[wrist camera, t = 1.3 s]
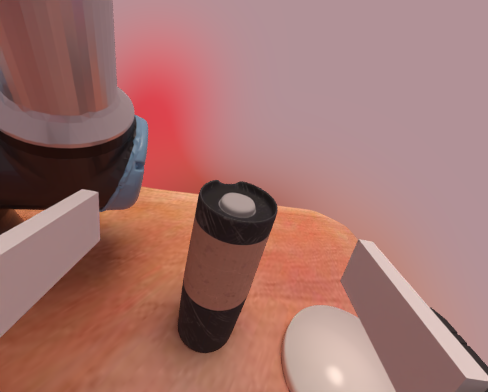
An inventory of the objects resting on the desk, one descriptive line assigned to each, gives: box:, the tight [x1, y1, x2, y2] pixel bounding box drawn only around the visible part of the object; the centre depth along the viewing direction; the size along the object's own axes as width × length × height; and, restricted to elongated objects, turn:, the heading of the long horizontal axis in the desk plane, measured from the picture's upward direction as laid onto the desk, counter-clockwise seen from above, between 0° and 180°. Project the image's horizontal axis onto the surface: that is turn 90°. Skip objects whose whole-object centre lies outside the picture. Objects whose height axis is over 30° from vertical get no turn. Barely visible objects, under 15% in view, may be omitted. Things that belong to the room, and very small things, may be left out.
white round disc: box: [281, 305, 396, 392], centre depth 31 cm, size 16×16×2 cm
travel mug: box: [178, 180, 277, 353], centre depth 27 cm, size 8×8×20 cm
